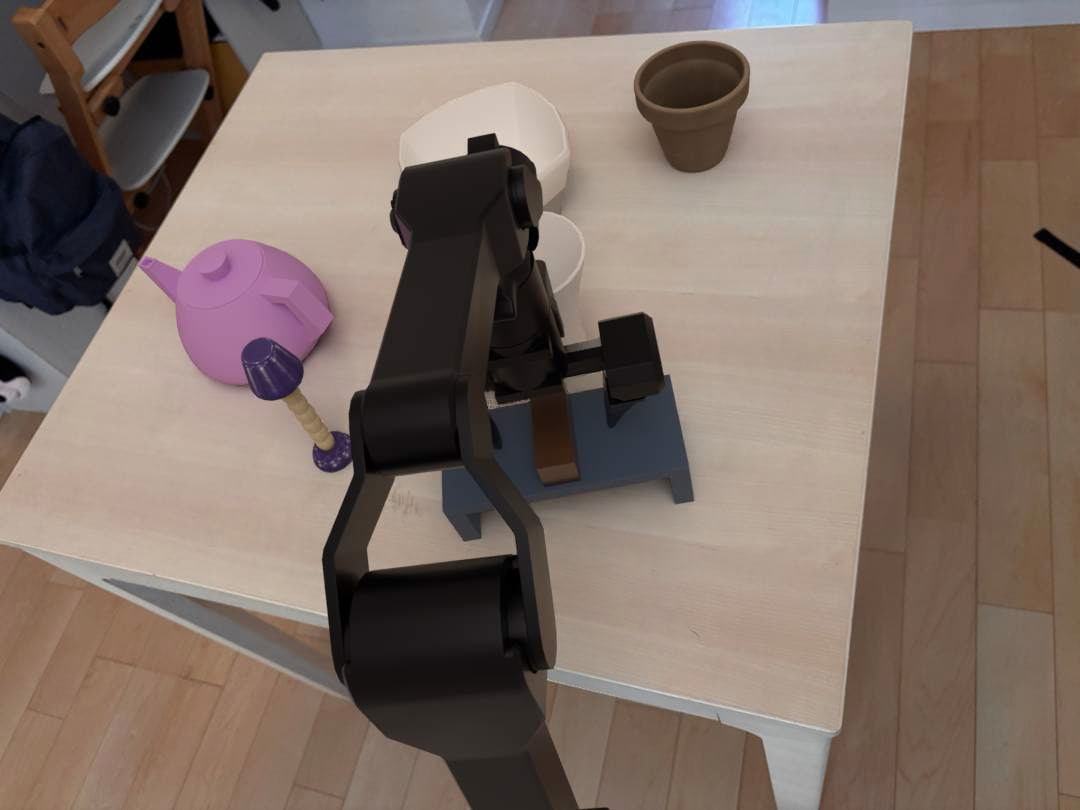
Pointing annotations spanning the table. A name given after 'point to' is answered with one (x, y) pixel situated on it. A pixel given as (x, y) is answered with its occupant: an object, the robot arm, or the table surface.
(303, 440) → the table surface
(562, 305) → the cup
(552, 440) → the block
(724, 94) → the flower pot
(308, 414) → the toy lamp
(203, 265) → the teapot
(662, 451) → the shelf
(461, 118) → the bowl
